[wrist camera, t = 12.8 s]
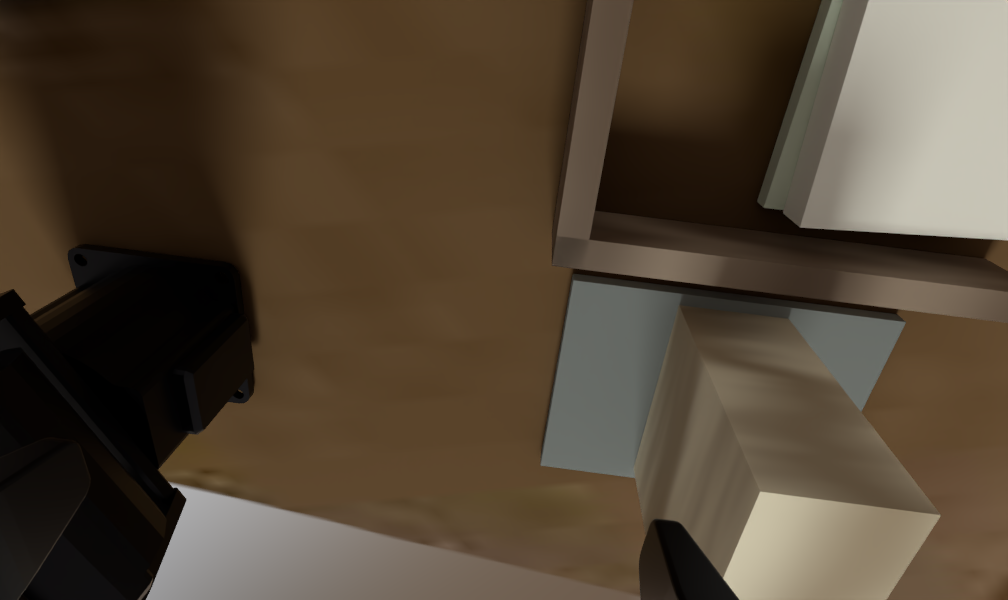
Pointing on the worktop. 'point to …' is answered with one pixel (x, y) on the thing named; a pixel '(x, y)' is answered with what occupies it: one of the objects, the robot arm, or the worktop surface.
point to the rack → (729, 250)
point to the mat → (640, 354)
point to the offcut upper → (909, 122)
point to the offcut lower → (799, 109)
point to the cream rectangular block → (774, 465)
